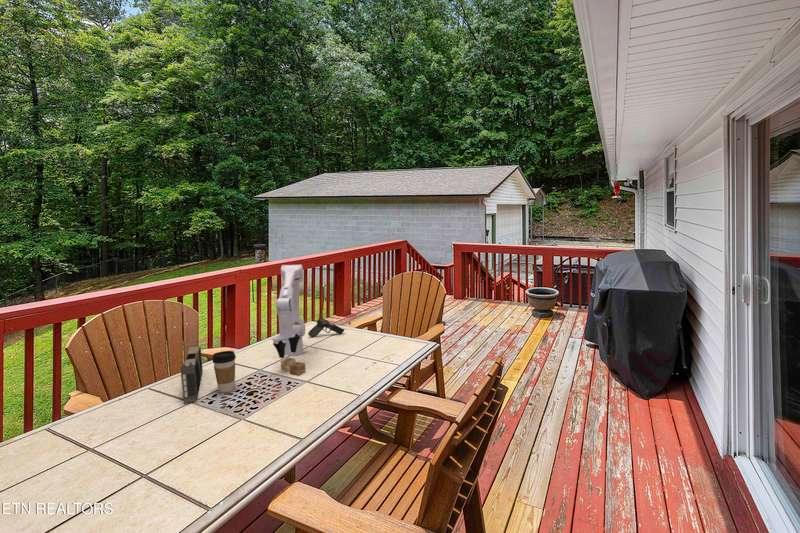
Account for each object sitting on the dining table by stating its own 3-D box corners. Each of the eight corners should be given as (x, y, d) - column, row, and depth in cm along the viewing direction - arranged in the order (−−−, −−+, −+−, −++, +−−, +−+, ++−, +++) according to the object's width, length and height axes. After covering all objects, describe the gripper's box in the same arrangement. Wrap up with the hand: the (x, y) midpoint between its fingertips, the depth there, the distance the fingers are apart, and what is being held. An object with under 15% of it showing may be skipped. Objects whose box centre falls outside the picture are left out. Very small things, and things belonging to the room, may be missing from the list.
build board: (271, 375, 173) (271, 374, 173) (288, 366, 183) (288, 365, 183) (297, 380, 167) (297, 379, 167) (314, 371, 177) (314, 369, 177)
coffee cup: (210, 391, 159) (207, 354, 157) (229, 383, 166) (227, 348, 164) (223, 396, 155) (220, 358, 153) (242, 387, 162) (239, 351, 160)
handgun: (307, 334, 224) (318, 315, 224) (307, 333, 226) (318, 315, 226) (333, 348, 229) (345, 329, 229) (333, 347, 231) (344, 329, 231)
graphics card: (197, 402, 150) (193, 365, 148) (182, 405, 148) (179, 367, 146) (203, 372, 180) (200, 340, 178) (191, 373, 178) (188, 342, 177)
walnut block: (290, 374, 172) (289, 365, 172) (297, 370, 176) (296, 361, 176) (298, 375, 170) (298, 366, 170) (305, 372, 175) (304, 363, 174)
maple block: (281, 369, 178) (280, 360, 178) (288, 365, 182) (287, 357, 182) (289, 371, 176) (288, 362, 176) (296, 367, 180) (295, 358, 180)
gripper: (281, 330, 168) (283, 361, 170) (303, 321, 181) (305, 350, 183) (268, 328, 171) (270, 359, 173) (291, 320, 184) (293, 348, 186)
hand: (287, 354), depth 178 cm, fingers open, 7 cm apart
